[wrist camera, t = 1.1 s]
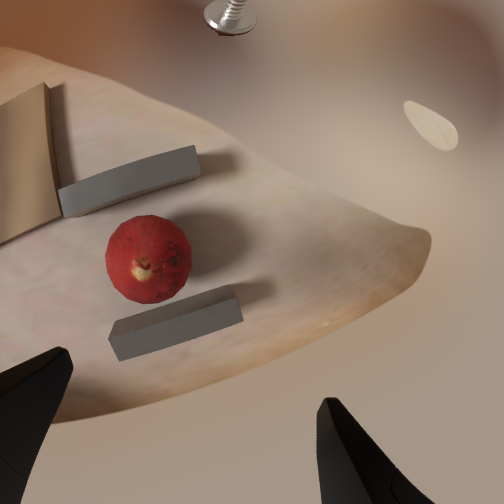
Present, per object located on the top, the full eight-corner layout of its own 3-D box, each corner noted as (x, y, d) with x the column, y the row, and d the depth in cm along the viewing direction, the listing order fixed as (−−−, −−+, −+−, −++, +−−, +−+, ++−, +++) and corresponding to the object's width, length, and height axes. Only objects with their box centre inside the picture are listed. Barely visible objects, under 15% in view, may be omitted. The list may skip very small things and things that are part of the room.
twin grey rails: (124, 341, 21) (119, 361, 18) (73, 193, 18) (58, 190, 15) (232, 306, 24) (243, 321, 20) (189, 155, 21) (194, 144, 17)
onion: (185, 213, 21) (196, 212, 14) (189, 284, 22) (202, 320, 15) (113, 217, 20) (85, 220, 12) (120, 289, 20) (99, 328, 13)
